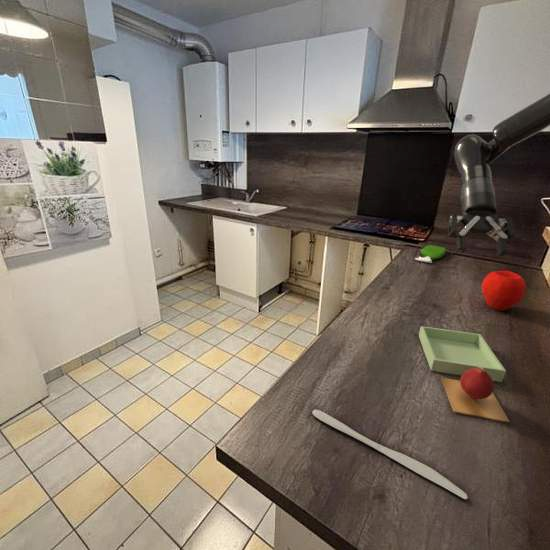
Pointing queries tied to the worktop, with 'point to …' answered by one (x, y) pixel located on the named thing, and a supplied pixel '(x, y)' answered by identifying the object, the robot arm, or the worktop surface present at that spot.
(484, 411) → the cork mat
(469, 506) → the worktop surface
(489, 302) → the apple
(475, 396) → the red rounded piece
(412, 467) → the butter knife
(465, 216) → the robot arm
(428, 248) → the spray bottle
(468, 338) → the tray
